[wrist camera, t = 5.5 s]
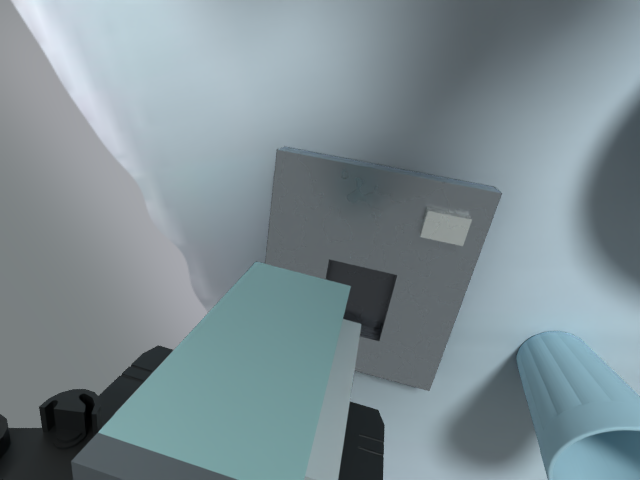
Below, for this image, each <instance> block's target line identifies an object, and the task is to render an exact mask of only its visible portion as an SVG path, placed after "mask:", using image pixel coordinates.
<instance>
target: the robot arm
mask: <svg viewBox="0 0 640 480" xmlns="http://www.w3.org/2000/svg"><path fill="white" fill-rule="evenodd" d="M224 296H225V295H224ZM224 296H223V297H224ZM223 297H222V298H223ZM212 309H213V308H212ZM212 309H211V310H212ZM211 310H210V311H211ZM210 311H209V312H210ZM199 323H200V322H199ZM199 323H198V324H199ZM360 331H361V324H360V323H356V322H352V321H349V320H345V319H343V321H342V325H341V329H340V333H339V337H338V342H337V346H336V350H335V354H334V358H333V362H332V366H331V371H330V375H329V379H328V383H327V387H326V391H325V395H324V399H323V404H322V408H321V412H320V416H319V420H318V424H317V428H316V433H315V437H314V441H313V445H312V449H311V453H310V457H309V461H308V466H307V470H306V474H305V478H304V480H383V454H384V444H383V443H384V423H383V421H382V418H381V416H380V413H379V411H378V410H376V409H373V408H370V407H366V406H363V405H359V404H356V403H353V402H350V397H351V391H352V384H353V377H354V371H355V364H356V357H357V351H358V344H359V337H360ZM187 336H188V335H187ZM187 336H186V337H187ZM186 337H185V338H186ZM175 349H176V348H175ZM175 349H174V350H175ZM174 350H172V349H168V348H165V347H162V346H157V347H155V348H153V349H151V350H149V351H147V352H145V353H143V354H142V355H141V356H140V357H139V358H138V359H137V360H136V361H135V362H134V363H132V365H131V367H128V368H127V369H126V370H125V371H124V372H123V373H122V375H121V376H119V377H118V378H117V379H116V380H115V381H114V382H113V383H112V384H111V385H110V386H109V387H107V389H105V390H104V391H103V393H102V394H100V395H99V396H97V395H96V394H95V392H92V391H89V390H86V389H73V390H69V391H65V392H62V393H59V394H57V395H55V396H53V397H51V398H49V399H48V400H47V401H46V402H44V403H43V404H42V405H41V406H40V407H39V409H40V416H41V423H42V428H8V423H7V419H6V418H5V417H3V416H2V415H1V414H0V480H73V474H72V465H71V461H72V460H73V459H74V458H75V457H76V455H77V454H78V453H79V452H80V451H81V450H82V449H83V448H84V447H85V446H86V445H87V444H88V443H89V441H90V440H91V439H92V438H93V437H94V436H95V435H96V434H97V433H98V432H99V431H100V430H101V428H102V427H103V426H104V425H105V424H106V423H107V422H108V421H109V420H110V419H111V418H112V417H113V415H114V414H115V413H116V412H117V411H118V410H119V409H120V408H121V407H122V406H123V405H124V404H125V403H126V401H127V400H128V399H129V398H130V397H131V396H132V395H133V394H134V393H135V392H136V391H137V390H138V388H139V387H140V386H141V385H142V384H143V383H144V382H145V381H146V380H147V379H148V378H149V377H150V376H151V374H152V373H153V372H154V371H155V370H156V369H157V368H158V367H159V366H160V365H161V364H162V363H163V361H164V360H165V359H166V358H167V357H168V356H169V355H170V354H171V353H172V352H173V351H174Z"/></svg>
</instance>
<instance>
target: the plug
mask: <svg viewBox="0 0 640 480" xmlns="http://www.w3.org/2000/svg"><path fill="white" fill-rule="evenodd" d="M350 288H351V286H349V285H345V284H341V283H337V282H333V281H329V280H326V279H322V278H318V277H314V276H310V275H306V274H302V273H299V272H295V271H291V270H287V269H283V268H279V267H275V266H272V265H268V264H264V263H260V262H255V263H254V264H253V265H252V266H251V267H250V269H249V270H248V271H247V272H246V273H245V274H244V275H243V276H242V277H241V278H240V279H239V280H238V282H237V283H236V284H235V285H234V286H233V287H232V288H231V289H230V290H229V291H228V292H227V293H226V294H225V296H224V297H223V298H222V299H221V300H220V301H219V302H218V303H217V304H216V305H215V306H214V307H213V309H212V310H211V311H210V312H209V313H208V314H207V315H206V316H205V317H204V318H203V319H202V320H201V321H200V323H199V324H198V325H197V326H196V327H195V328H194V329H193V330H192V331H191V332H190V333H189V334H188V336H187V337H186V338H185V339H184V340H183V341H182V342H181V343H180V344H179V345H178V346H177V347H176V349H175V350H174V351H173V352H172V353H171V354H170V355H169V356H168V357H167V358H166V359H165V360H164V361H163V363H162V364H161V365H160V366H159V367H158V368H157V369H156V370H155V371H154V372H153V373H152V374H151V376H150V377H149V378H148V379H147V380H146V381H145V382H144V383H143V384H142V385H141V386H140V387H139V388H138V390H137V391H136V392H135V393H134V394H133V395H132V396H131V397H130V398H129V399H128V400H127V401H126V403H125V404H124V405H123V406H122V407H121V408H120V409H119V410H118V411H117V412H116V413H115V414H114V415H113V417H112V418H111V419H110V420H109V421H108V422H107V423H106V424H105V425H104V426H103V427H102V428H101V430H100V431H99V432H98V433H97V434H96V435H95V436H94V437H93V438H92V439H91V440H90V441H89V443H88V444H87V445H86V446H85V447H84V448H83V449H82V450H81V451H80V452H79V453H78V454H77V455H76V457H75V458H74V459H73V460H72V461H71V465H72V474H73V480H304V478H305V474H306V470H307V466H308V461H309V457H310V453H311V449H312V445H313V441H314V437H315V433H316V428H317V424H318V420H319V416H320V412H321V408H322V404H323V399H324V395H325V391H326V387H327V383H328V379H329V375H330V371H331V366H332V362H333V358H334V354H335V350H336V346H337V342H338V337H339V333H340V329H341V325H342V321H343V317H344V313H345V309H346V304H347V300H348V296H349V292H350Z"/></svg>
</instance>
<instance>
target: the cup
mask: <svg viewBox="0 0 640 480" xmlns="http://www.w3.org/2000/svg"><path fill="white" fill-rule="evenodd" d="M516 361H517V365H518V370H519V374H520V377H521V381H522V385H523V388H524V392H525V396H526V399H527V403H528V407H529V410H530V414H531V417H532V421H533V425H534V428H535V432H536V435H537V439H538V443H539V447H540V452H541V456H542V459H543V463H544V467H545V471H546V474H547V478H548V480H640V396H639V395H638V394H637V393H636V392H635V391H634V390H633V389H632V388H631V387H630V386H629V385H628V384H627V383H625V382H624V381H623V380H622V379H621V378H620V377H619V376H618V375H617V374H616V373H615V372H614V371H613V370H612V369H611V368H610V367H609V366H608V365H607V364H606V363H605V362H604V361H603V360H602V359H601V358H600V357H599V356H598V355H597V354H596V353H595V352H594V351H593V350H592V349H591V348H590V347H589V346H588V345H587V344H585V343H584V342H583V341H582V340H581V339H580V338H578V337H576V336H574V335H572V334H569V333H566V332H560V331H550V332H544V333H540V334H537V335H535V336H533V337H531V338H529V339H528V340H527V341H525V342H524V343H523V344H522V345H521V347H520V348H519V351H518V353H517V357H516Z"/></svg>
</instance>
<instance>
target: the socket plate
mask: <svg viewBox="0 0 640 480" xmlns="http://www.w3.org/2000/svg"><path fill="white" fill-rule="evenodd" d="M501 195H502V193H501V192H500V191H499V190H498V189H496V188H495V187H493V186H487V185H482V184H477V183H472V182H466V181H461V180H456V179H451V178H446V177H440V176H435V175H430V174H425V173H420V172H414V171H409V170H404V169H399V168H394V167H388V166H383V165H378V164H373V163H368V162H362V161H357V160H352V159H347V158H342V157H336V156H331V155H326V154H321V153H315V152H310V151H305V150H300V149H295V148H289V147H283V148H280V149H278V150H277V154H276V164H275V173H274V183H273V193H272V202H271V212H270V222H269V231H268V241H267V251H266V260H265V264H268V265H272V266H275V267H279V268H283V269H287V270H291V271H295V272H299V273H302V274H306V275H310V276H314V277H318V278H322V279H326V280H329V281H333V282H337V283H341V284H345V285H349V286H351V288H350V292H349V296H348V300H347V304H346V309H345V313H344V317H343V319H345V320H349V321H352V322H356V323H360V324H361V331H360V337H359V344H358V351H357V357H356V364H355V371H358V372H362V373H365V374H369V375H373V376H376V377H380V378H384V379H387V380H391V381H395V382H398V383H402V384H406V385H409V386H413V387H417V388H421V389H424V390H428V391H430V388H431V385H432V382H433V380H434V377H435V374H436V371H437V369H438V366H439V363H440V361H441V358H442V355H443V352H444V350H445V347H446V344H447V342H448V339H449V336H450V333H451V331H452V328H453V325H454V323H455V320H456V317H457V314H458V312H459V309H460V306H461V304H462V301H463V298H464V295H465V293H466V290H467V287H468V284H469V282H470V279H471V276H472V274H473V271H474V268H475V265H476V263H477V260H478V257H479V255H480V252H481V249H482V246H483V244H484V241H485V238H486V236H487V233H488V230H489V227H490V225H491V222H492V219H493V216H494V214H495V211H496V208H497V206H498V203H499V200H500V197H501Z"/></svg>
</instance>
